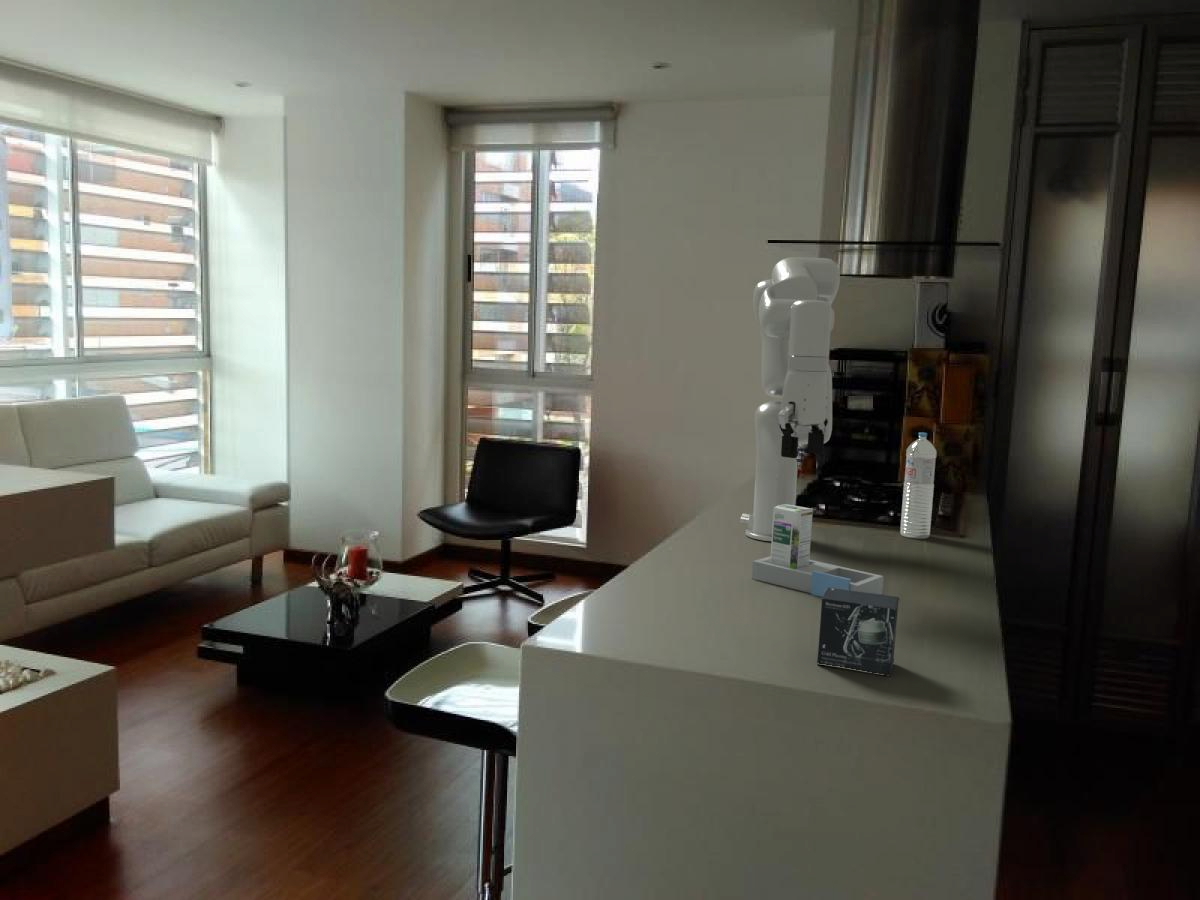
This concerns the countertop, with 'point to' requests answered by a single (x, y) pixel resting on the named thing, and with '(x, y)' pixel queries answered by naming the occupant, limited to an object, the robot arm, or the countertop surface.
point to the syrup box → (791, 536)
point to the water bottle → (918, 489)
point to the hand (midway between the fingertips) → (802, 455)
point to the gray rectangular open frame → (817, 577)
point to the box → (858, 630)
